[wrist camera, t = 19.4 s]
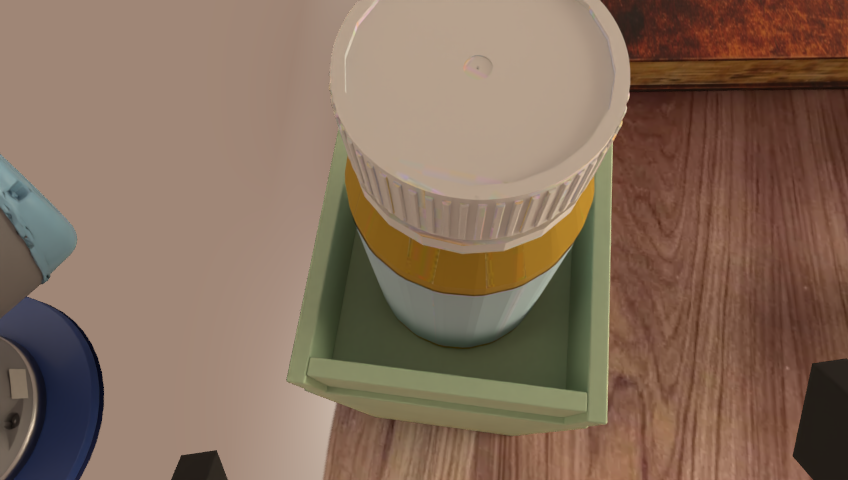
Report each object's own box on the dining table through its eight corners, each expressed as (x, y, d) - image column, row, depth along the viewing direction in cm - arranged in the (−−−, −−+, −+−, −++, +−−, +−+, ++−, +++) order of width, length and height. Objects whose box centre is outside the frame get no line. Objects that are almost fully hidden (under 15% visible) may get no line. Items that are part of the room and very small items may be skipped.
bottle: (355, 249, 26) (250, 19, 12) (483, 178, 27) (526, -110, 13) (432, 382, 24) (415, 293, 10) (567, 299, 25) (730, 111, 11)
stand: (513, 436, 47) (616, 425, 19) (374, 417, 48) (277, 380, 20) (523, 298, 51) (620, 123, 23) (394, 283, 52) (337, 97, 24)
